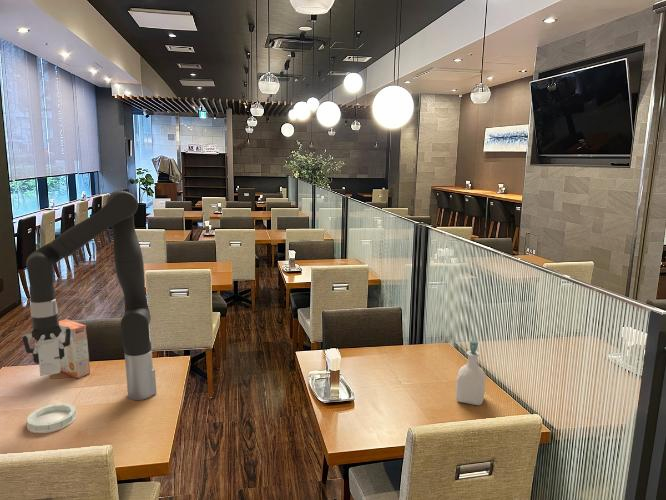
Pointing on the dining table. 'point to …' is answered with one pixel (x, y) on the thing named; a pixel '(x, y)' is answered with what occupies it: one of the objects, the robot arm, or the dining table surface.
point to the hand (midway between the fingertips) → (49, 360)
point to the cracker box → (75, 350)
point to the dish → (51, 418)
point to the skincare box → (49, 357)
